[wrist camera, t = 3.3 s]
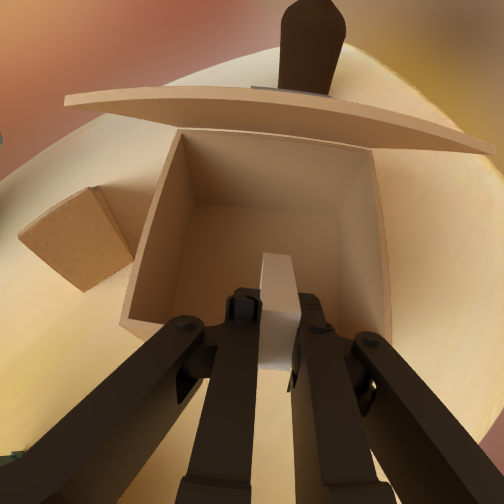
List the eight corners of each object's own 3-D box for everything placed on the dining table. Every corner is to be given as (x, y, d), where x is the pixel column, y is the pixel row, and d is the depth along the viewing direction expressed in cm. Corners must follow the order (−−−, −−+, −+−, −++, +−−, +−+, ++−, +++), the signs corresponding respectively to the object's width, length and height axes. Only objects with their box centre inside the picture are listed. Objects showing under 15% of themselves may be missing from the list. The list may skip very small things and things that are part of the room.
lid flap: (494, 155, 10) (495, 143, 10) (63, 106, 11) (65, 93, 11) (370, 148, 29) (371, 142, 29) (179, 127, 29) (179, 121, 29)
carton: (340, 370, 32) (392, 352, 20) (161, 351, 32) (118, 324, 21) (340, 217, 41) (371, 150, 29) (192, 201, 41) (177, 129, 30)
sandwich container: (99, 184, 43) (62, 110, 29) (137, 260, 37) (91, 186, 24) (54, 212, 40) (6, 146, 27) (82, 294, 35) (15, 237, 22)
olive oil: (297, 117, 50) (319, -16, 28) (263, 88, 54) (271, -31, 31) (340, 104, 53) (370, -13, 30) (306, 77, 57) (323, -30, 34)
